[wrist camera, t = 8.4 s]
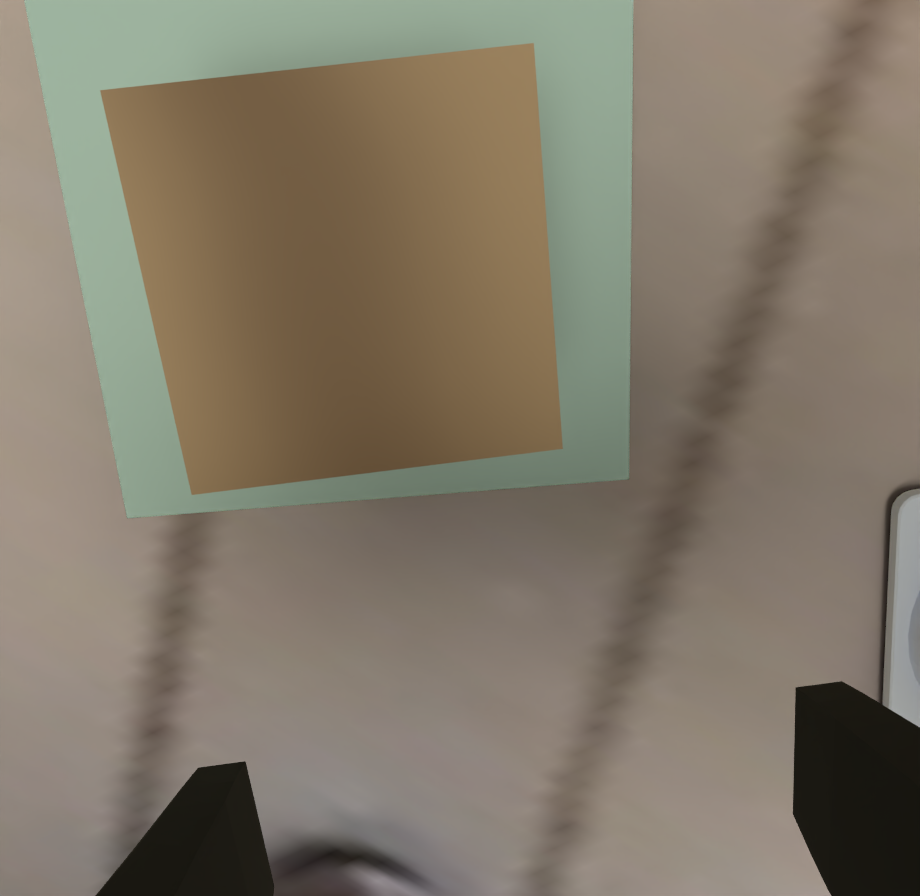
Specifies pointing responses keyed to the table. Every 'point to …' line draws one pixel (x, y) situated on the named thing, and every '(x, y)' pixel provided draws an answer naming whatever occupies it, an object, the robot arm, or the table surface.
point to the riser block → (329, 43)
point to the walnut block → (345, 264)
